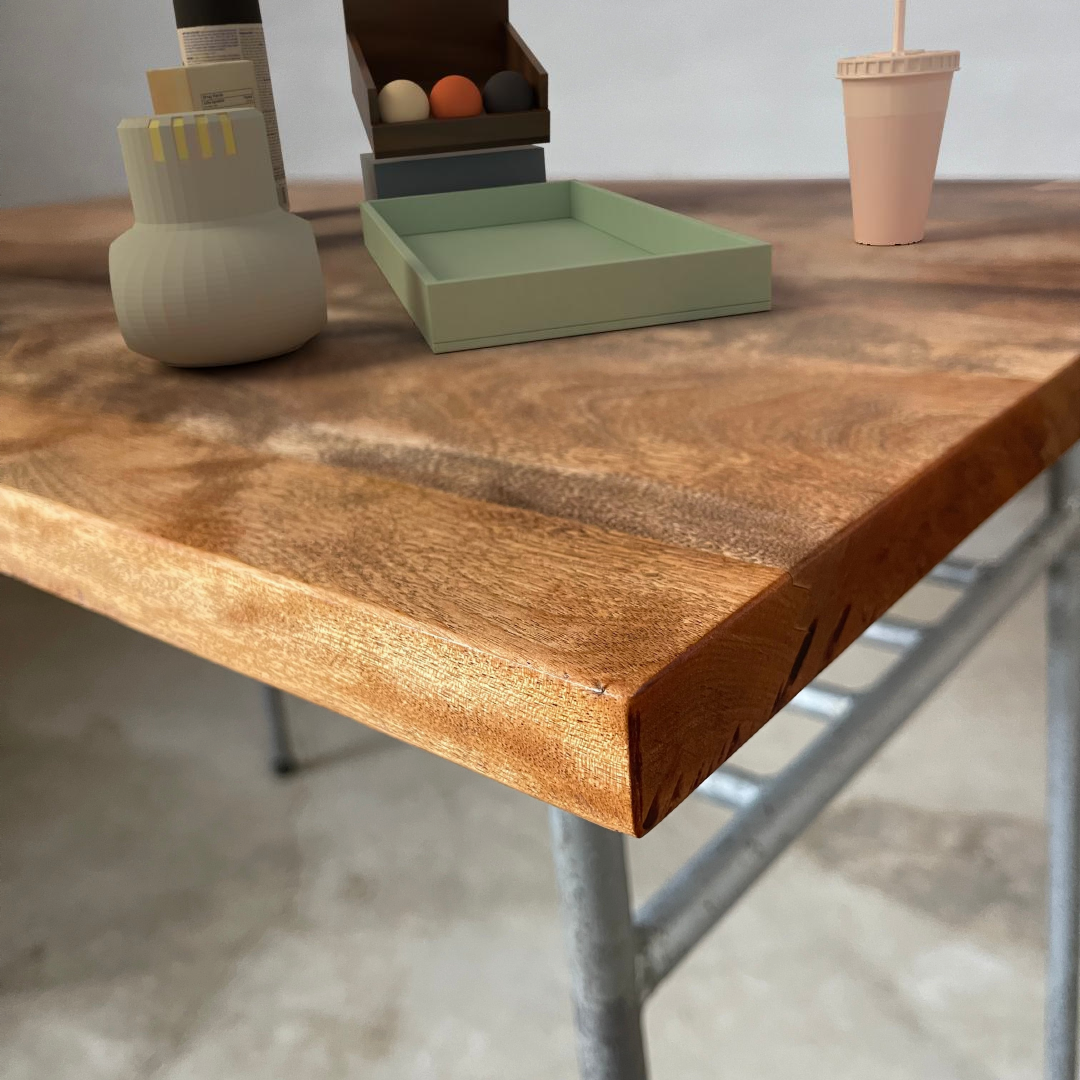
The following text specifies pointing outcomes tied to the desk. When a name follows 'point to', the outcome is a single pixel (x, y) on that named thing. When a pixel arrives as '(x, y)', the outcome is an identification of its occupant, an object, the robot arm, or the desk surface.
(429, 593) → the desk surface
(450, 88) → the ball terracotta
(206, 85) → the cosmetic box
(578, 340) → the desk surface
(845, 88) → the smoothie
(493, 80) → the ball charcoal
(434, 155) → the stand
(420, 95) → the ball cream
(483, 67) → the wooden display box
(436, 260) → the tray
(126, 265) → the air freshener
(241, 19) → the spray can
